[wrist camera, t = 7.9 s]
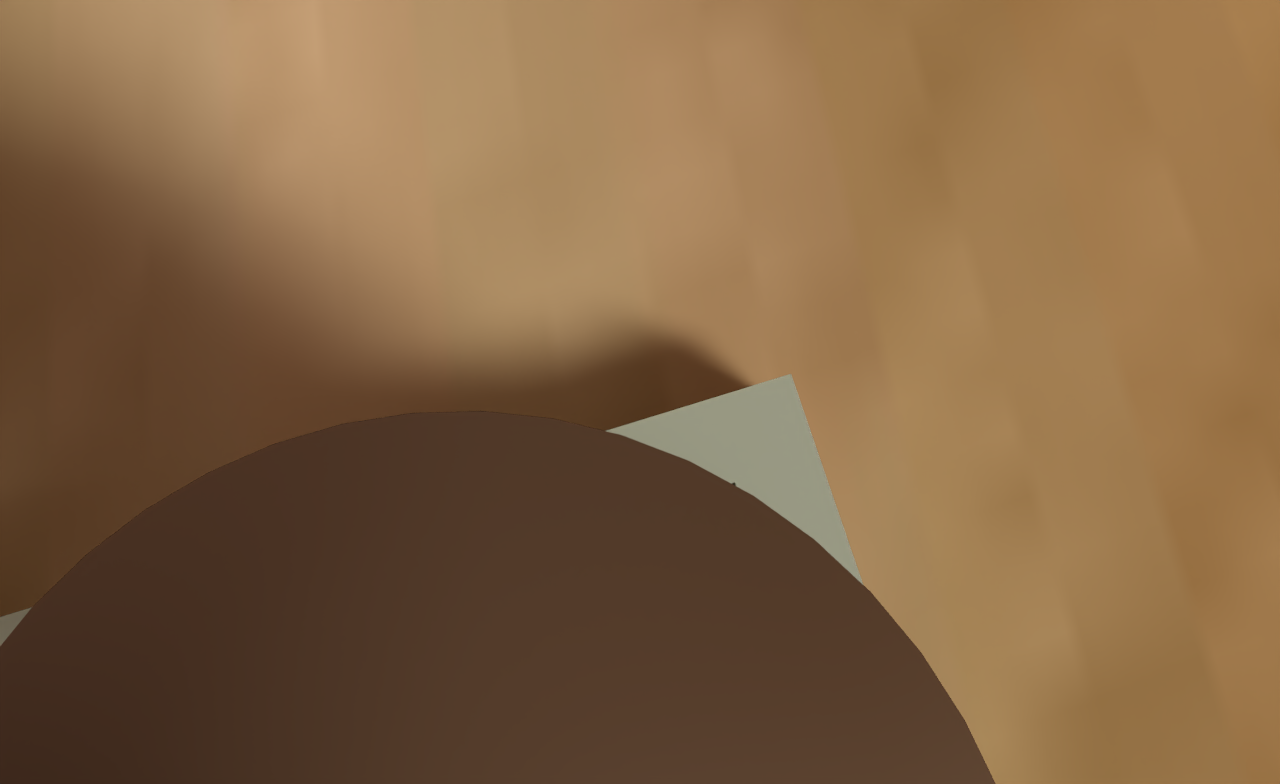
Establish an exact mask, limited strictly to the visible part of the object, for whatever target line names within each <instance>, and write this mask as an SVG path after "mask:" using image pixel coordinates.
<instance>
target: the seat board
mask: <svg viewBox="0 0 1280 784" xmlns="http://www.w3.org/2000/svg"><path fill="white" fill-rule="evenodd" d="M607 432H611V433H615V434H620V435H623V436H626V437H628V438H631V439H633V440H636V441H639V442H641V443H644V444H646V445H649V446H652V447H654V448H657V449H660V450H662V451H665V452H667V453H670V454H673V455H675V456H678V457H680V458H683V459H686V460H688V461H690V462H692V463H694V464H696V465H698V466H700V467H701V468H703V469H705V470H707V471H709V472H711V473H713V474H714V475H716V476H718V477H720V478H722V479H724V480H726V481H727V482H729V483H731V484H733V485H735V486H737V487H739V488H740V489H742V490H744V491H746V492H748V493H750V494H751V495H753V496H755V497H756V498H758V499H759V500H760V501H762V502H763V503H764V504H766V505H767V506H769V507H770V508H771V509H773V510H774V511H776V512H777V513H778V514H780V515H781V516H783V517H784V518H785V519H787V520H788V521H790V522H791V523H792V524H794V525H795V526H796V527H798V528H799V529H801V530H802V531H803V532H805V533H806V534H808V535H809V536H810V537H812V538H813V539H814V540H816V541H817V542H818V543H819V544H820V545H821V546H822V547H823V548H824V549H825V550H826V551H827V552H828V553H829V554H831V555H832V556H833V557H834V558H835V559H836V560H837V561H838V562H839V563H840V564H841V565H842V566H843V567H844V568H846V569H847V570H848V571H849V572H850V573H851V574H852V575H853V576H854V577H855V578H856V579H857V580H858V581H859V582H861V583H862V580H861V577H860V574H859V571H858V568H857V565H856V562H855V559H854V557H853V554H852V551H851V548H850V545H849V542H848V539H847V536H846V533H845V530H844V527H843V524H842V521H841V519H840V516H839V513H838V510H837V507H836V504H835V501H834V498H833V495H832V492H831V489H830V486H829V484H828V481H827V478H826V475H825V472H824V469H823V466H822V463H821V460H820V457H819V454H818V451H817V448H816V446H815V443H814V440H813V437H812V434H811V431H810V428H809V425H808V422H807V419H806V416H805V413H804V411H803V408H802V405H801V402H800V399H799V396H798V393H797V390H796V387H795V384H794V381H793V378H792V375H791V374H789V375H786V376H782V377H779V378H776V379H773V380H769V381H766V382H763V383H760V384H756V385H753V386H750V387H747V388H743V389H740V390H737V391H734V392H730V393H727V394H724V395H721V396H717V397H714V398H711V399H708V400H704V401H701V402H698V403H695V404H691V405H688V406H685V407H682V408H678V409H675V410H672V411H669V412H665V413H662V414H659V415H656V416H652V417H649V418H646V419H643V420H639V421H636V422H633V423H630V424H626V425H623V426H620V427H617V428H613V429H610V430H607ZM862 584H863V583H862ZM31 608H32V607H31ZM31 608H28V609H25V610H21V611H18V612H15V613H12V614H8V615H5V616H2V617H0V646H1V645H2V643H3V642H4V641H5V640H6V639H7V637H8V636H9V635H10V634H11V632H12V631H13V630H14V629H15V628H16V626H17V625H18V624H19V623H20V621H21V620H22V619H23V618H24V617H25V615H26V614H27V613H28V612H29V610H30V609H31Z"/></svg>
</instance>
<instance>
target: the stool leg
mask: <svg viewBox="0 0 1280 784" xmlns="http://www.w3.org/2000/svg"><path fill="white" fill-rule="evenodd" d="M0 784H995V782H994V780H993V778H992V776H991V774H990V771H989V769H988V767H987V765H986V763H985V761H984V759H983V757H982V755H981V753H980V751H979V749H978V747H977V745H976V742H975V740H974V738H973V736H972V734H971V732H970V730H969V728H968V726H967V724H966V722H965V720H964V718H963V717H962V715H961V714H960V712H959V711H958V709H957V708H956V706H955V704H954V703H953V701H952V700H951V698H950V697H949V695H948V694H947V692H946V690H945V689H944V687H943V686H942V684H941V683H940V681H939V680H938V678H937V676H936V675H935V673H934V672H933V670H932V669H931V667H930V666H929V664H928V662H927V661H926V659H925V658H924V656H923V655H922V653H921V652H920V651H919V649H918V648H917V647H916V646H915V645H914V643H913V642H912V641H911V640H910V639H909V637H908V636H907V635H906V634H905V633H904V631H903V630H902V629H901V628H900V627H899V625H898V624H897V623H896V622H895V621H894V619H893V618H892V617H891V616H890V615H889V613H888V612H887V611H886V610H885V609H884V607H883V606H882V605H881V604H880V603H879V601H878V600H877V599H876V598H875V597H874V595H873V594H872V593H871V592H870V591H869V590H868V589H867V588H866V587H865V586H864V585H863V584H862V583H861V582H859V581H858V580H857V579H856V578H855V577H854V576H853V575H852V574H851V573H850V572H849V571H848V570H847V569H846V568H844V567H843V566H842V565H841V564H840V563H839V562H838V561H837V560H836V559H835V558H834V557H833V556H832V555H831V554H829V553H828V552H827V551H826V550H825V549H824V548H823V547H822V546H821V545H820V544H819V543H818V542H817V541H816V540H814V539H813V538H812V537H810V536H809V535H808V534H806V533H805V532H803V531H802V530H801V529H799V528H798V527H796V526H795V525H794V524H792V523H791V522H790V521H788V520H787V519H785V518H784V517H783V516H781V515H780V514H778V513H777V512H776V511H774V510H773V509H771V508H770V507H769V506H767V505H766V504H764V503H763V502H762V501H760V500H759V499H758V498H756V497H755V496H753V495H751V494H750V493H748V492H746V491H744V490H742V489H740V488H739V487H737V486H735V485H733V484H731V483H729V482H727V481H726V480H724V479H722V478H720V477H718V476H716V475H714V474H713V473H711V472H709V471H707V470H705V469H703V468H701V467H700V466H698V465H696V464H694V463H692V462H690V461H688V460H686V459H683V458H680V457H678V456H675V455H673V454H670V453H667V452H665V451H662V450H660V449H657V448H654V447H652V446H649V445H646V444H644V443H641V442H639V441H636V440H633V439H631V438H628V437H626V436H623V435H620V434H615V433H611V432H607V431H603V430H599V429H594V428H590V427H586V426H582V425H578V424H573V423H569V422H565V421H561V420H557V419H552V418H543V417H533V416H524V415H514V414H504V413H495V412H485V411H472V412H435V413H410V414H403V415H397V416H391V417H384V418H378V419H372V420H365V421H359V422H353V423H346V424H341V425H338V426H334V427H331V428H327V429H324V430H320V431H317V432H314V433H310V434H307V435H303V436H300V437H296V438H293V439H290V440H286V441H283V442H279V443H276V444H273V445H271V446H268V447H266V448H264V449H261V450H259V451H257V452H255V453H252V454H250V455H248V456H245V457H243V458H241V459H238V460H236V461H234V462H232V463H229V464H227V465H225V466H222V467H220V468H218V469H215V470H213V471H211V472H208V473H207V474H205V475H203V476H202V477H200V478H198V479H196V480H195V481H193V482H191V483H190V484H188V485H186V486H185V487H183V488H181V489H180V490H178V491H176V492H174V493H173V494H171V495H169V496H168V497H166V498H164V499H163V500H161V501H159V502H157V503H156V504H154V505H152V506H151V507H149V508H147V509H146V510H144V511H143V512H142V513H140V514H139V515H138V516H136V517H135V518H134V519H132V520H131V521H130V522H128V523H127V524H126V525H125V526H123V527H122V528H121V529H119V530H118V531H117V532H115V533H114V534H113V535H111V536H110V537H109V538H108V539H106V540H105V541H104V542H102V543H101V544H100V545H98V546H97V547H96V548H94V549H93V550H92V551H91V552H89V553H88V554H87V555H85V556H84V557H83V558H82V559H81V560H80V561H79V562H78V563H77V564H76V565H75V566H74V567H73V568H72V569H71V570H70V571H69V572H68V573H67V574H66V575H65V576H64V577H63V578H62V579H61V580H60V581H59V582H58V583H57V584H56V585H55V586H54V587H53V588H51V589H50V590H49V591H48V592H47V593H46V594H45V595H44V596H43V597H42V598H41V599H40V600H39V601H38V602H37V603H36V604H35V605H34V606H33V607H32V608H31V609H30V610H29V612H28V613H27V614H26V615H25V617H24V618H23V619H22V620H21V621H20V623H19V624H18V625H17V626H16V628H15V629H14V630H13V631H12V632H11V634H10V635H9V636H8V637H7V639H6V640H5V641H4V642H3V643H2V645H1V646H0Z"/></svg>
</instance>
